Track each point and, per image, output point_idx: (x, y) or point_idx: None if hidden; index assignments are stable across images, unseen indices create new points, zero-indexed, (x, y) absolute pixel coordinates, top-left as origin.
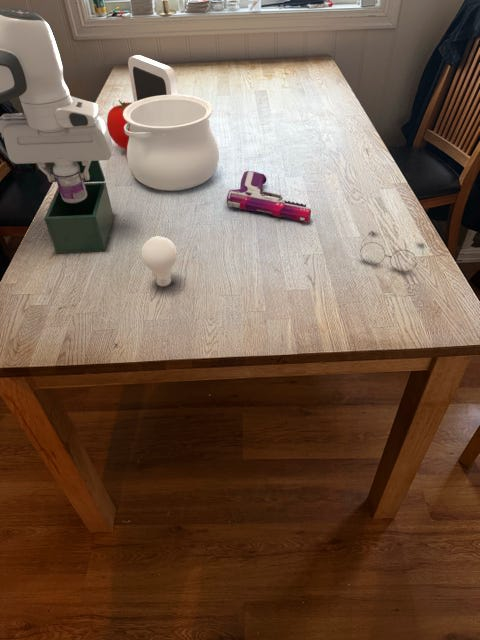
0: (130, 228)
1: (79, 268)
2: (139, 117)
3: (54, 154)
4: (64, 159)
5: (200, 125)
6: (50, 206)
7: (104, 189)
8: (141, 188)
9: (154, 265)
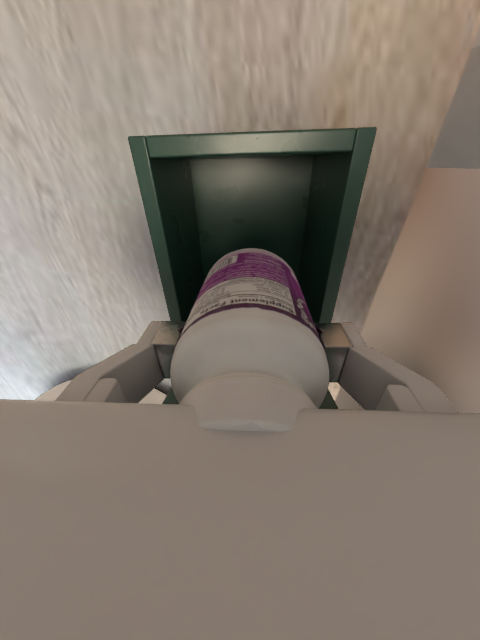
0: (148, 259)
1: (239, 27)
2: None
3: (298, 492)
4: (205, 423)
5: None
6: (343, 245)
7: None
8: None
9: None
